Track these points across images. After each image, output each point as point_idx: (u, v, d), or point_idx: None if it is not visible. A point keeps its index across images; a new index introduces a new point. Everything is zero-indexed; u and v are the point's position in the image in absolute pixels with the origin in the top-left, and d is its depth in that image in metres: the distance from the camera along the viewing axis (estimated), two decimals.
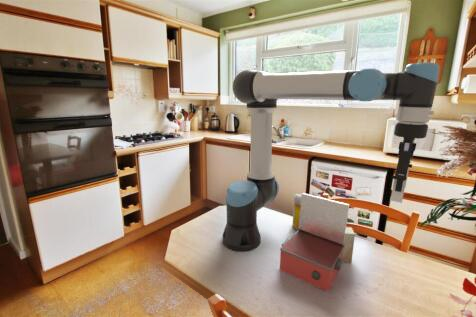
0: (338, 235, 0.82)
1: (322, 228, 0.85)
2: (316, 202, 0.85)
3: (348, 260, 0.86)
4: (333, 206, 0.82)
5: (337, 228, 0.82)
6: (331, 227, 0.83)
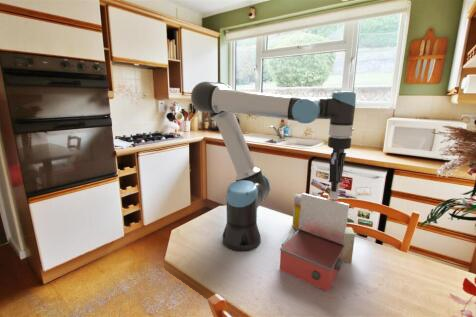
0: (338, 235, 0.82)
1: (322, 228, 0.85)
2: (316, 202, 0.85)
3: (348, 260, 0.86)
4: (333, 206, 0.82)
5: (337, 228, 0.82)
6: (331, 227, 0.83)
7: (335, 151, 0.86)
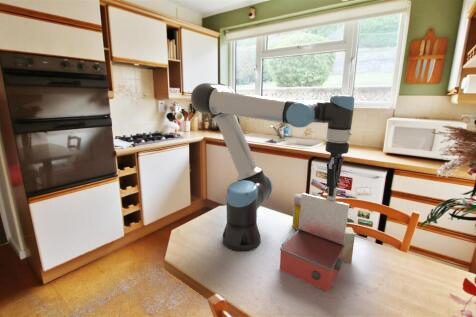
0: (338, 235, 0.82)
1: (322, 228, 0.85)
2: (316, 202, 0.85)
3: (348, 260, 0.86)
4: (333, 206, 0.82)
5: (337, 228, 0.82)
6: (331, 227, 0.83)
7: (333, 156, 0.84)
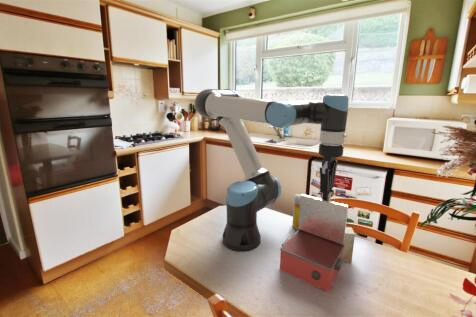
0: (337, 235, 0.82)
1: (321, 228, 0.85)
2: (315, 203, 0.84)
3: (348, 260, 0.86)
4: (332, 207, 0.81)
5: (337, 229, 0.81)
6: (331, 228, 0.83)
7: (326, 159, 0.79)
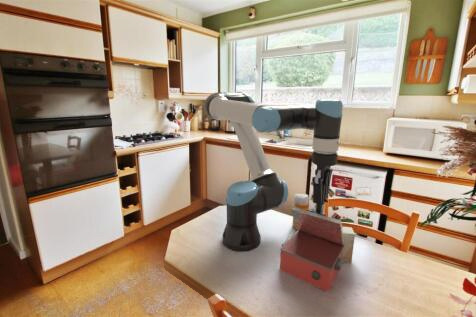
0: (336, 239, 0.81)
1: (320, 233, 0.84)
2: (307, 217, 0.80)
3: (348, 260, 0.86)
4: (325, 222, 0.77)
5: (334, 235, 0.80)
6: (328, 234, 0.81)
7: (319, 168, 0.74)
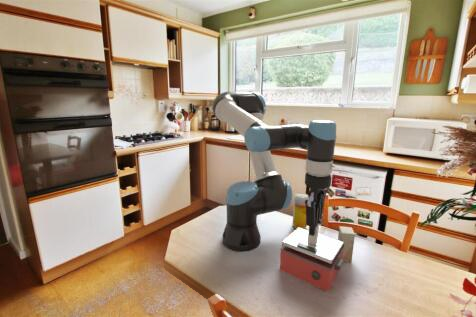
0: None
1: None
2: None
3: (348, 260, 0.86)
4: None
5: None
6: None
7: (312, 191, 0.72)
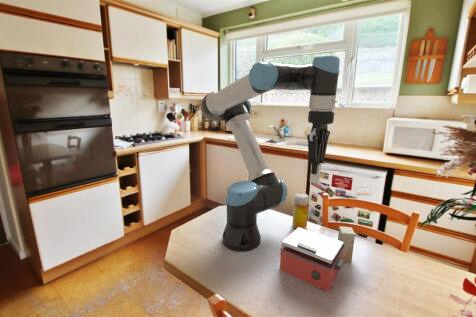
0: None
1: None
2: None
3: (348, 260, 0.86)
4: None
5: None
6: None
7: (315, 126, 0.74)
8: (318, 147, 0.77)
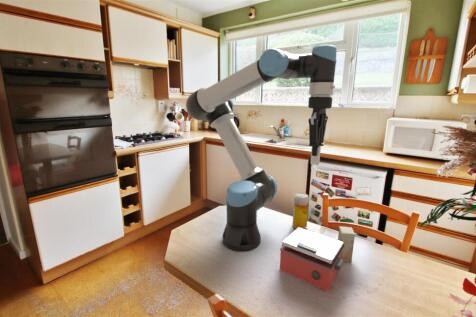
0: None
1: None
2: None
3: (348, 260, 0.86)
4: None
5: None
6: None
7: (315, 111, 0.81)
8: (318, 130, 0.83)
